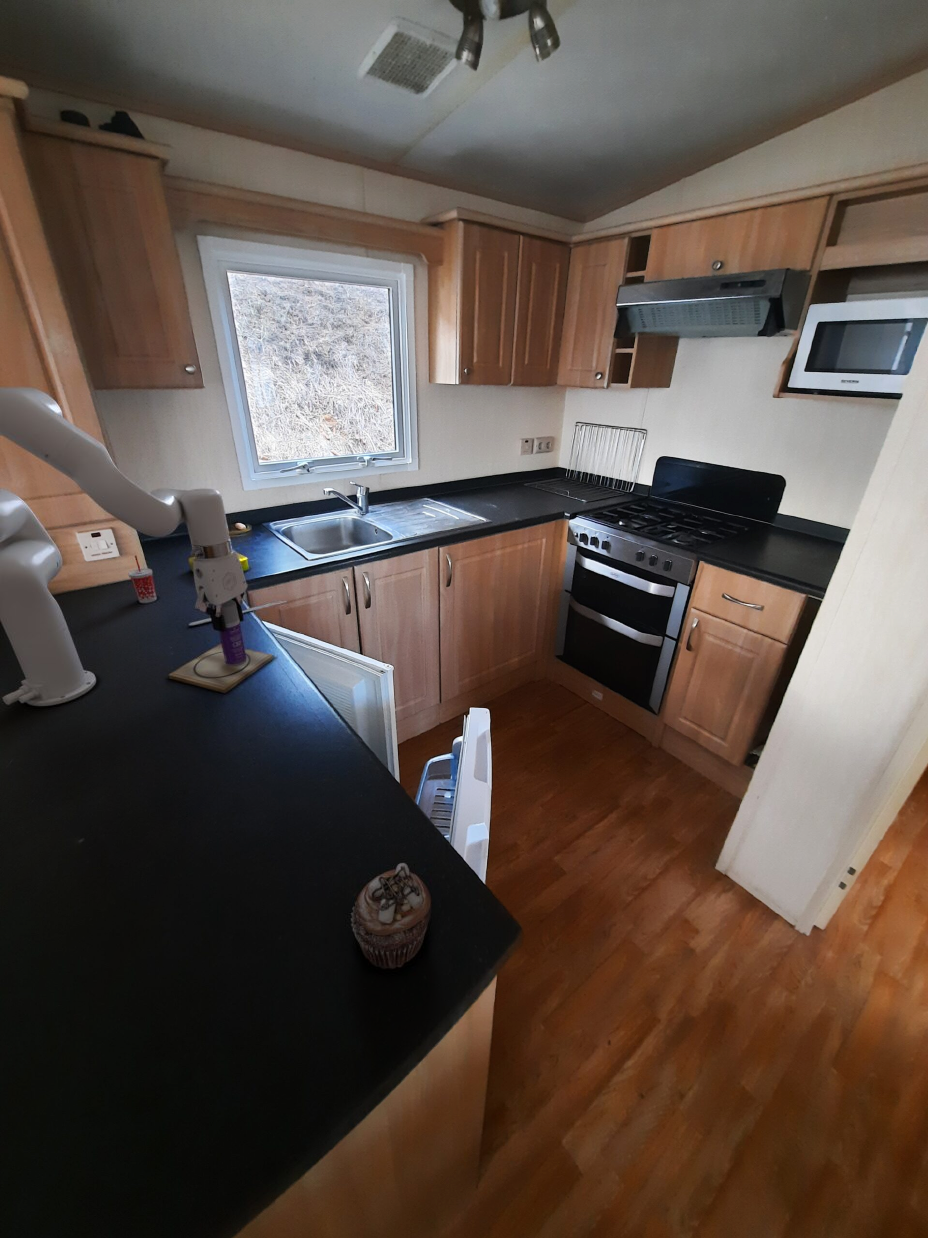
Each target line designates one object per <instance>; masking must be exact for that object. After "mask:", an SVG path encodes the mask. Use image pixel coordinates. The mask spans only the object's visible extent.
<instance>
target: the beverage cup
mask: <svg viewBox="0 0 928 1238" xmlns="http://www.w3.org/2000/svg"><path fill="white" fill-rule="evenodd" d="M134 558H135V562H136V566H137V569H134V570H130V571H129V572H128V574H127V575H128V578H130V580H131V583H132V587H133V588H134V591H135V594H136V596H137V599H138V602H139V603H141V604H148V603H152V602H155V601H156V600H157V599H158V598H157V593H156V588H155V582H154V578H153V569H151V568H146V567H145V568H141V567H140V563H139V559H138V555H134Z"/></svg>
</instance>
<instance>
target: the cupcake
mask: <svg viewBox="0 0 928 1238" xmlns="http://www.w3.org/2000/svg"><path fill="white" fill-rule="evenodd" d="M431 898H432V897H431V893H430V891H429V889H428V887H427V886H426V884H425V883H424V882H423V880H422V879H421V878H420V877H419V876H418V875H417V874H415V873H413V872H411V871H410V869H409V866H408V864H406V863H405V862H400V863H399V864H397V866H396V868H395V869H390V870H388V871H385V872H383V873H381V874H378V875H377V876H376V877H375V878H373V879H372V880H371V881H369V882H368V883H367V884H366V885H365V886H364V887H363V889H362V890H361V891H360V892H359V894H358V896H357V898H356V901H355V902H354V904H355V906H353V907H352V912H351V913H350V915H351V918H350V921H351V928H352V932H353V933H354V936H355V939H356V941H357V942H358V945H359V946H360V948H361V951H362V953H363V955H364V957H365V958H366V959H368V961H369V962H370V963H371V964H372V965H373V966H375V967H379V968H381V969H383V970H385V969H392V970H394V969H396V968H402V967H403V966H404V964H405V963H408V962H409V961H411V960H412V959H413V958H414V957H415V956H417V954H418V952H419V950H420V949H421V947H422V945H423V942H424V939H425V935H426V931H427V928H428V924H429V921H430V919H431V911H432V903H431V902H432V899H431Z"/></svg>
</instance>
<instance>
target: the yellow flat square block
mask: <svg viewBox="0 0 928 1238" xmlns="http://www.w3.org/2000/svg"><path fill="white" fill-rule="evenodd" d="M236 553H237V556H238V558H239V560H240V563H241V566H242V569H243V573H244V572H248V571H249V570H250V566H249V560H248V557H247V556H245V555H243V554H240V553H239V552H236ZM193 559H195V557H192V556H191V557H189V558H188V563H189V567H190V571H191V572H193Z"/></svg>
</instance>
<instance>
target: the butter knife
mask: <svg viewBox="0 0 928 1238" xmlns="http://www.w3.org/2000/svg"><path fill="white" fill-rule="evenodd" d="M283 603H287V600H281V601H277V602H272V603H265V604H262V605H258V606H254V607H251V608H247V609H244V610H242V613H243V614H244V613H248V612H251V611H257V610H261V609H264V608H269V607H272V606H276V605H280V604H283ZM211 622H212V621H211V617H209V618H206V619H200V620H197V621H193V622H190V623H188V626H190V627H191V626H193V627H194V626H197V625H203V624H206V623H211Z"/></svg>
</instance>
